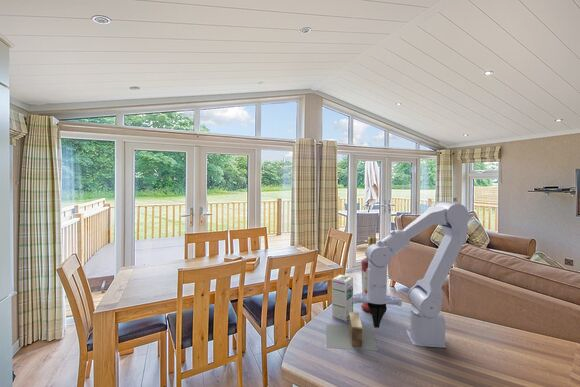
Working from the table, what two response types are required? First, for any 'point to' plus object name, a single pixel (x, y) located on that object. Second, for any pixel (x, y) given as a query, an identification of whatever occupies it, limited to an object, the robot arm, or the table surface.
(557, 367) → the table surface
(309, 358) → the table surface
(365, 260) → the liquor
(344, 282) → the syrup box
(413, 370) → the table surface
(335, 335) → the mat
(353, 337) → the slab
